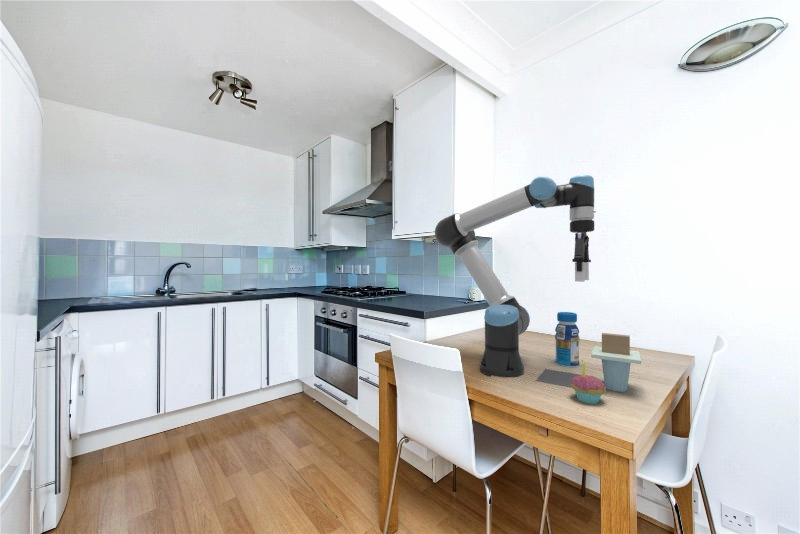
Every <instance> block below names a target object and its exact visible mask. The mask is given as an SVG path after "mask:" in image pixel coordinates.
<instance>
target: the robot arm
mask: <svg viewBox="0 0 800 534" xmlns="http://www.w3.org/2000/svg"><path fill="white" fill-rule="evenodd" d="M562 206H569V220H570V222H569V232H570V233H574V234H575V236H574V256H573V258H572V261H571V262H572V263H574V282H579V283H580V282H582V283H583V282H585V281H589V280H590V279H589V278H590V276H589V275H590V274H589V273H590V272H589V271H590V270H589V269H590V268H589V266H590V264H589V263H592V260H591V259H590V254H589V252H590V251H589V246H590V245H589V241H590V237H589V235H587V233H588V232H589V233H591V232H594V231H595V220H594V219H595V214H596V213H597V209H595V180H594V177H593V175H590V174H581V175H576V176H573V177H571V178H569V182H568V183H565V184H559V185H557V183H556V182H555V181H554V180H553V179H552V178H550V177H549V176H547V175H540V176H537V177H535V178H533V180H532V181H531V182H530V183H529V184H527V185H525V186H523V187H521V188H519V189H516V190H513V191H511V192H509V193H507V194H504V195H502V196H499V197H497V198H495V199H493V200H491V201H490V200H489V201H488V202H486V203H483V204H481V205H479V206H476V207H474V208H472V209H470V210H467V211H464V212H462V213H460V212H455V213H453V214H451V215H448V216H446V217H444V218H443V219H441V220H440V221H439V222H437V224H436V226H435V229H434V237H435V239H436V241H437V242H438V244H440V245H441V246H444V247H448V248H449V249H450V250H451V252H452V254H453V256H454V257H458V258H460V260H461V261H462V263H463V265H464V266H465V268H466V269H467V272H468V273H469V274H470V276H471V278H472V279H473V281H474V283H475V284H476V286H477V287H478V289H479V291H480V292H481V294H482V295H483V297H484V299H485V300H486V302H487V304H488V305H489V306H487V307H486V309H485V311H484V317H483V319H484V351H483V354H482V358H481V359H480V364H479V370H480V372H481V373H482V374H484V375H487V376H490V377H491V376H494V377H499V378H518V377H521V376H523V375H524V374H525V366H524V363H523V360H522V357H521V355H520V349H519V348H520V341H519V339H520V338H519V337H520V335H522V334H523V333H525V331H526V330H528V327H529V326H530V322H531V317H530V314H529V312H528V310H527V309H526V308H525V307H523V306H522V305H521V304H520V303H519V302H518V300H517V299H516V297H515V296H513V295H510V294H508V292H507V290H506V289H505V287H504V285H503V284H502V283H501V281H500V280H499V278H498V277H497V275H496V273H495V272H494V271H493V269H492V267H491V266H490V264H489V261H487V259H486V257H485V256H484V255H483V253H482V252H481V250H480V248H479V247H478V246H479V240H478V239H477V237H476V232H475V230H476V229H480V228H482V227H485V226H487V225H489V224H492V223H494V222H496V221H499V220H502V219H504V218H507V217H510V216H512V215H514V214H517V213H520V212H522V211H524V210H526V209H530V208H532V207H534V208H536V209H547V208H553V207H562Z"/></svg>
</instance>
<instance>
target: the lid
mask: <svg viewBox="0 0 800 534" xmlns="http://www.w3.org/2000/svg"><path fill="white" fill-rule="evenodd" d="M630 336H631V335H629V334H628V335H627V334H619V333H607V332H601V346H597V345H596V346H595V345H594V346H593V349H592V351H591V354H590V355H591V356H590V357H591V358H592V359H600V360H601V359H606V360H613V361H620V362H628V363H631V364H636V365H642V359H641V354H640V351H638V350H631V345H630V344H631V342H630V341H631V338H630Z"/></svg>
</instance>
